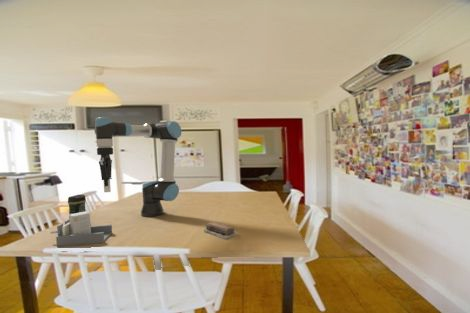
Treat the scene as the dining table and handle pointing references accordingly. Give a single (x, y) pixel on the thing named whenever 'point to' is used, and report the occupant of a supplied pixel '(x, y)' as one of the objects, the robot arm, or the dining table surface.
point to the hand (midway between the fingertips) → (107, 191)
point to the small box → (80, 223)
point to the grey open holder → (64, 229)
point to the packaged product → (220, 230)
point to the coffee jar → (76, 204)
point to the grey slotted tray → (84, 235)
